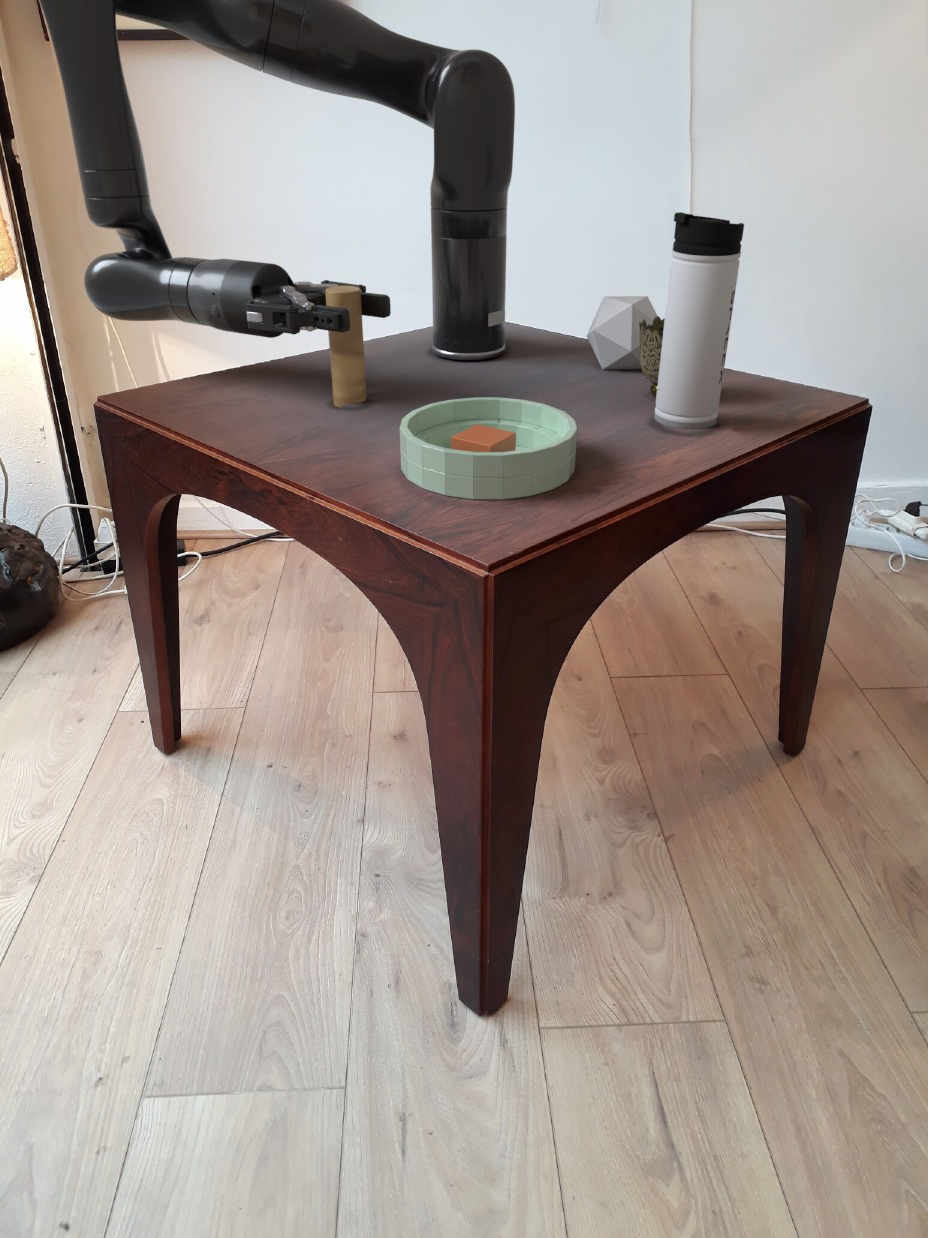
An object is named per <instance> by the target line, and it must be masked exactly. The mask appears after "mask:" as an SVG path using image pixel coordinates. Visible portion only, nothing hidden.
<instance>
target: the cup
mask: <svg viewBox="0 0 928 1238" xmlns="http://www.w3.org/2000/svg"><path fill="white" fill-rule="evenodd" d="M664 321H665V317H664V318H663V319H661V317H660V316H658V315H657V316H656V317H655V318H654V320H653V325H649V324H648V326H647V324H646V321H645V320H644V319H643V320H642V323H641V322H639V328H640V363H641V369H640V370H641V371H642V374H643V376H644V377H645V378H646V379H647V380H648V381H649V382H650V383H651V385H650V386H649V387H650V388H649V389H650V393H651V396H653V397H654V398H656V395H657V386H658V377H659V367H660V358H661V349H662V340H663V330H664Z"/></svg>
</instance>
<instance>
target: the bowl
mask: <svg viewBox="0 0 928 1238" xmlns="http://www.w3.org/2000/svg"><path fill="white" fill-rule="evenodd" d="M477 424H478V425H483V426H487V427H492V428H497V429H501V430H506V431H510V432H515V433H516V451H508V452H471V451H463V450H454V449H451V437H452V436H455V435H457V434H459V433H461V432H463V431H465V430H467V429H469V428H471V427H473V426H475V425H477ZM577 438H578V426H577V423H576V420H575V419H574V418H573V417H572V416H571V415H569V414H568V413H567V412H566V411H564V410H561V409H559V408H556V407H555V406H551V405H549V404H547V403H546V404H545V403H541V402H537V401H531V400H527V399H519V398H511V397H510V398H508V397H499V396H497V397H496V396H495V397H494V396H493V397H491V396H490V397H489V396H485V397H478V396H477V397H476V396H475V397H465V398H455V399H454V398H453V399H448V400H442V401H437V402H433V403H428V404H425V405H424V406H421V407H419V408H416V409H414V410H411V411H409V413H407V414H406V415H405V416H404V417H402V418H401V420H400V425H399V443H400V444H399V447H400V470H401V472H402V473H403V475H404V476H405V478H406V479H407V480H408V481H409V482H411V483H413V484H414V485H416V486H418V487H419V488H421V489H423V490H425V491H429V492H431V493H435V494H439V495H443V496H446V497H453V498H459V499H467V500H499V501H500V500H501V501H502V500H511V499H519V498H528V497H532V496H535V495H539V494H543V493H546V492H549V491H552V490H555V489H556V488H558V487H561V486H562V485H563V484H565V483H566V482H569V480H570V479H571V477H572V475H573V474H574V472H575V469H576V457H577V456H576V455H577V441H578V439H577Z"/></svg>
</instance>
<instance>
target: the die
mask: <svg viewBox="0 0 928 1238" xmlns="http://www.w3.org/2000/svg"><path fill="white" fill-rule="evenodd" d="M656 316H658V314H657V312H656V309H655V308H654V306H653V304H652V302H651V300H650V298H649V296H648V295H640V296H639V295H629V296H628V295H625V296H624V295H617V296H616V295H612V296H611V295H610V296H609V295H608V296H607V295H604V296H603V298H602V300H601V302H600V304H599V306H598V309H597V311H596V313H595V316H594V318H593V320H592V323H591V325H590V327H589V330H588V332H587V334H586V338H587V340H588V342H589V344H590V346H591V348H592V350H593V352H594V354H595V357H596V359H597V361H598V363H599V366H600V368H601V370H642V369H641V363H640V328H639V322H641V323H642V320H643V319H644V320H645V321H646V324H647V326H648V324H649V325H653V320H654V318H655V317H656Z"/></svg>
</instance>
